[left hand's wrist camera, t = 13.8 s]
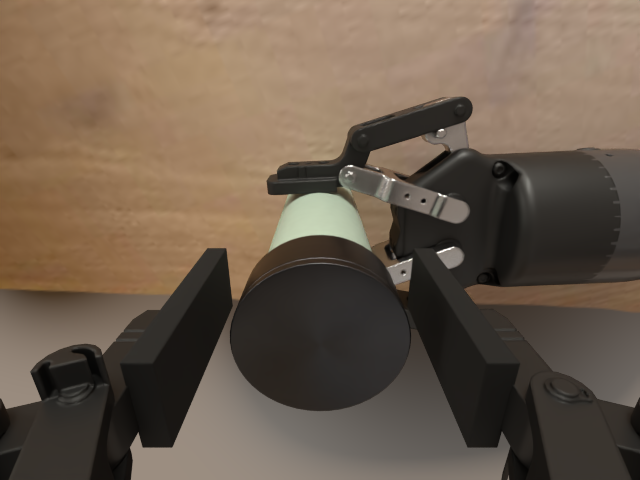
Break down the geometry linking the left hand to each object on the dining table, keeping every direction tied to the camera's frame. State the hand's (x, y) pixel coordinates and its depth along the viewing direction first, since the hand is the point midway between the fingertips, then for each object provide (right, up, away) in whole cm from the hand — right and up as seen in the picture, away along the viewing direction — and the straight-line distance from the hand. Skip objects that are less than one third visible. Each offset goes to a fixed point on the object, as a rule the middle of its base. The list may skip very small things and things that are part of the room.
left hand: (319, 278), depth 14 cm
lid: (0, -1, -3) cm, 4 cm away
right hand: (-3, +2, +6) cm, 7 cm away
